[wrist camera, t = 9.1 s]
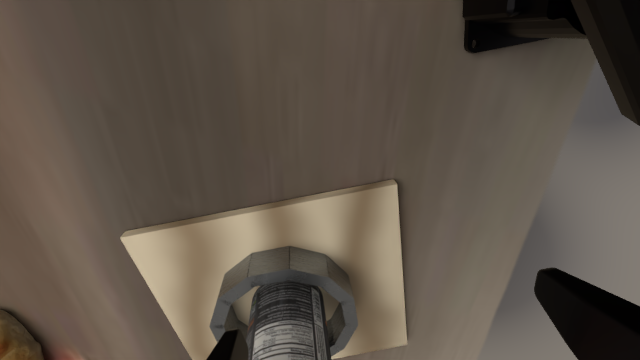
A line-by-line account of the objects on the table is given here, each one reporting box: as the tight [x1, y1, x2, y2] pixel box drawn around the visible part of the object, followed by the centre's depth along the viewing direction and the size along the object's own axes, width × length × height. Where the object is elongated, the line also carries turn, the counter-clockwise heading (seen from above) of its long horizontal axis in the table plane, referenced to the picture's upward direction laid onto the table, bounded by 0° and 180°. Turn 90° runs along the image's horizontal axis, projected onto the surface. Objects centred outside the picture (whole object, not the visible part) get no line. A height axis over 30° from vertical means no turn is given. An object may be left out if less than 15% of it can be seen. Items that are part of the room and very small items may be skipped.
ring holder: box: [120, 179, 407, 360], centre depth 24 cm, size 20×18×3 cm
